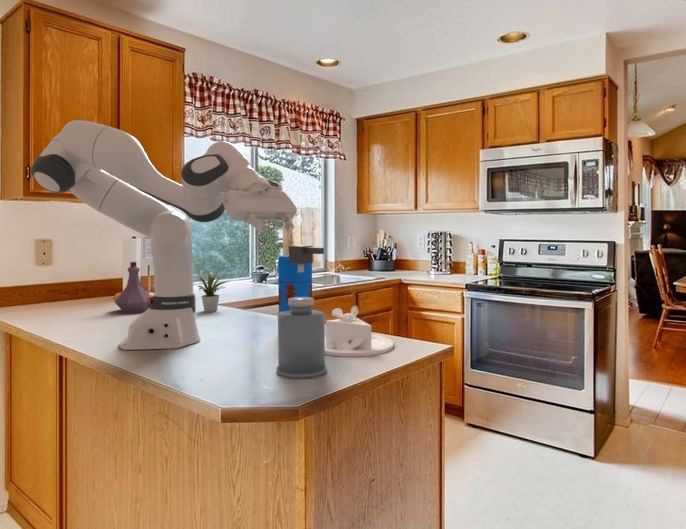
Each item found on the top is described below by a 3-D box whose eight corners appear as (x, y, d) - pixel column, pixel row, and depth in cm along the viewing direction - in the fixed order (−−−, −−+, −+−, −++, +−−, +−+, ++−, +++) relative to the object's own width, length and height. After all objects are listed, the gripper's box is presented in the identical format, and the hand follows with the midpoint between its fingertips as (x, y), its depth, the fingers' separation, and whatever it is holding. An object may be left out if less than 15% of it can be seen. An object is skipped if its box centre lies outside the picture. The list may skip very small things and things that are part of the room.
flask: (163, 310, 210) (162, 262, 208) (124, 315, 197) (122, 264, 196) (144, 306, 221) (142, 260, 219) (106, 311, 208) (104, 262, 207)
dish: (291, 345, 150) (291, 307, 149) (357, 333, 165) (357, 299, 164) (342, 362, 130) (342, 319, 129) (411, 348, 145) (411, 309, 144)
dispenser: (265, 372, 120) (264, 299, 119) (300, 362, 130) (299, 293, 128) (303, 382, 113) (302, 304, 111) (337, 370, 122) (336, 298, 121)
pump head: (288, 272, 119) (288, 245, 118) (300, 271, 122) (300, 245, 122) (316, 274, 114) (316, 246, 113) (327, 273, 117) (327, 246, 116)
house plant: (211, 315, 198) (210, 273, 196) (184, 312, 204) (183, 272, 202) (234, 309, 211) (233, 270, 209) (208, 307, 216) (207, 269, 215)
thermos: (307, 337, 158) (306, 257, 156) (274, 335, 160) (273, 256, 158) (315, 330, 169) (315, 255, 167) (285, 329, 171) (284, 254, 169)
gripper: (221, 178, 118) (250, 220, 113) (283, 183, 134) (312, 220, 129) (209, 198, 121) (237, 240, 116) (272, 201, 137) (299, 237, 132)
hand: (277, 229), depth 123 cm, fingers open, 8 cm apart
